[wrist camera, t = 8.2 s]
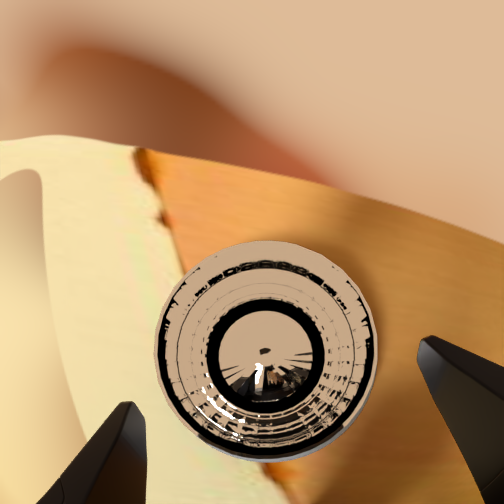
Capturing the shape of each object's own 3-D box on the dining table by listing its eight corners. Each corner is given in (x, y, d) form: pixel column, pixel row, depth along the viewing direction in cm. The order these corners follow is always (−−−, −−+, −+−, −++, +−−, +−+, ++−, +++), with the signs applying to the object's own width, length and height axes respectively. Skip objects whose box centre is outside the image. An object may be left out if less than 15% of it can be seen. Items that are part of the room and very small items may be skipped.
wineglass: (326, 326, 18) (420, 256, 6) (298, 419, 16) (355, 503, 5) (232, 300, 19) (184, 192, 7) (202, 391, 17) (99, 423, 5)
